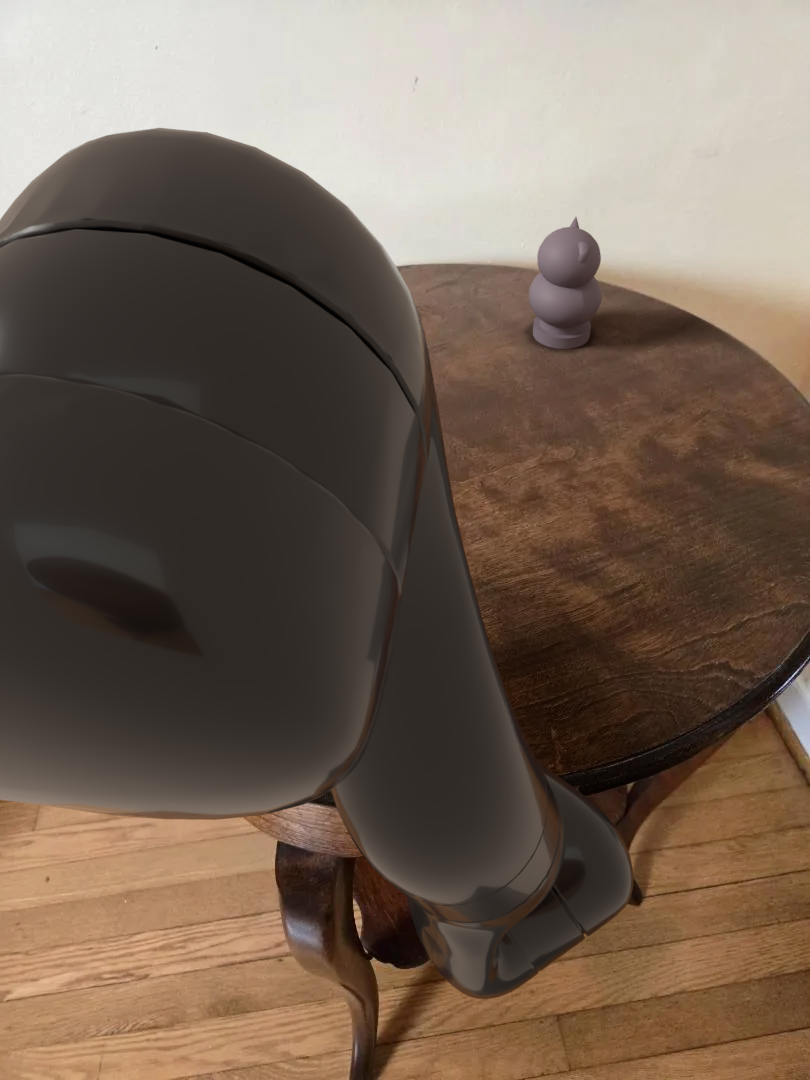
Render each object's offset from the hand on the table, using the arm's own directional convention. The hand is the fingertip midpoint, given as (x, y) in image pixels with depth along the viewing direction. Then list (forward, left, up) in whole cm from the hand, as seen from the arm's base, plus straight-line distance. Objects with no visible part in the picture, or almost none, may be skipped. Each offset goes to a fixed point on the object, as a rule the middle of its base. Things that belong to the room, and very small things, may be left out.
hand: (268, 493), depth 61 cm
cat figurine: (+47, +2, -10) cm, 48 cm away
